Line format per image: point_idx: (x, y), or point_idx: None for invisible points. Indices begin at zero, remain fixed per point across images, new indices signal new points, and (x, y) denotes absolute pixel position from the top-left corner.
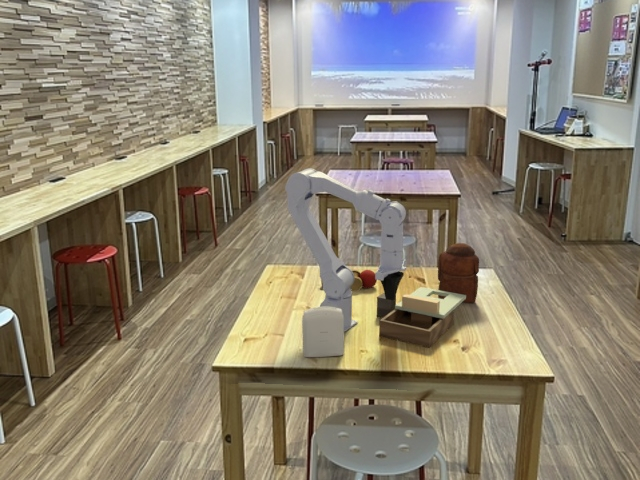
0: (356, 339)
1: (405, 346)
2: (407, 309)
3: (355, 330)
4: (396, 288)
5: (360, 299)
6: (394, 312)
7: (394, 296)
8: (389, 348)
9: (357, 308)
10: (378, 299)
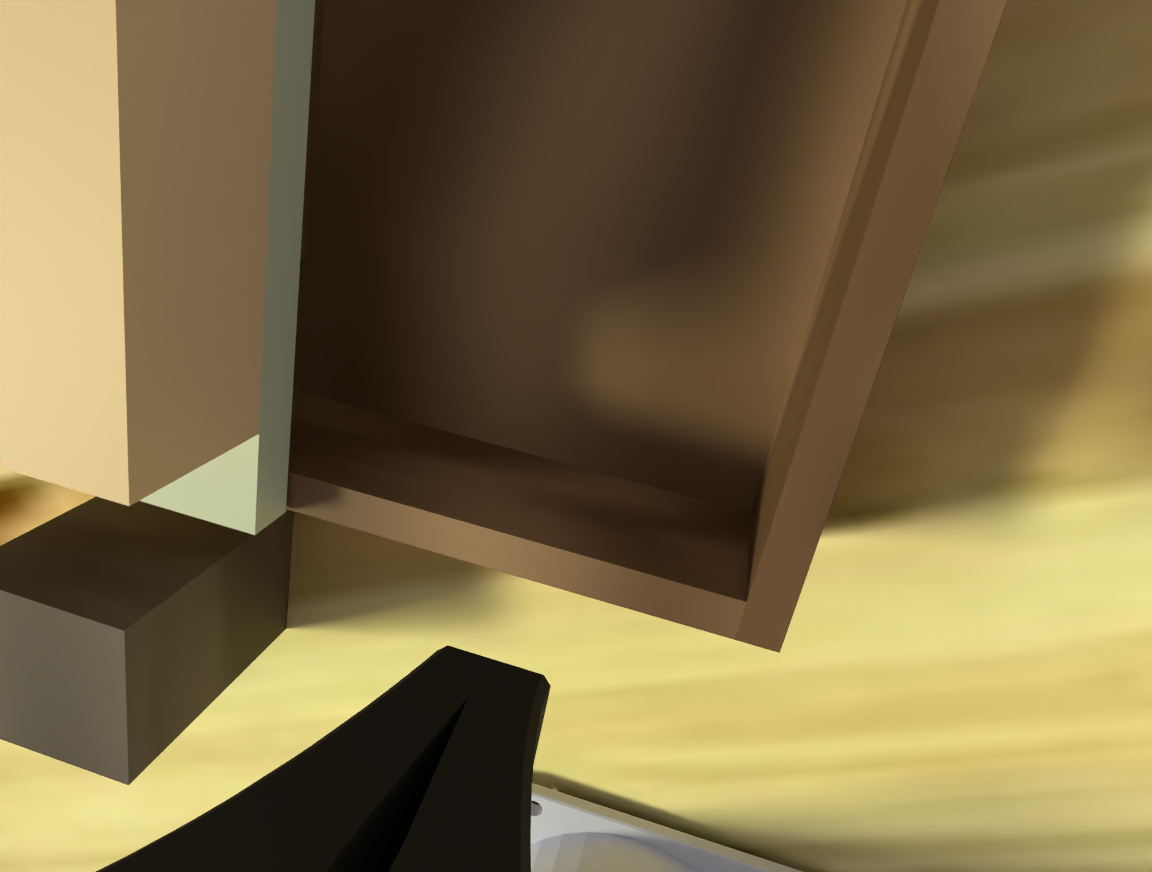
0: (929, 742)
1: (1021, 174)
2: (279, 332)
3: (692, 771)
4: (353, 826)
5: (6, 794)
6: (394, 497)
7: (477, 695)
8: (1132, 366)
9: (191, 800)
10: (151, 748)
